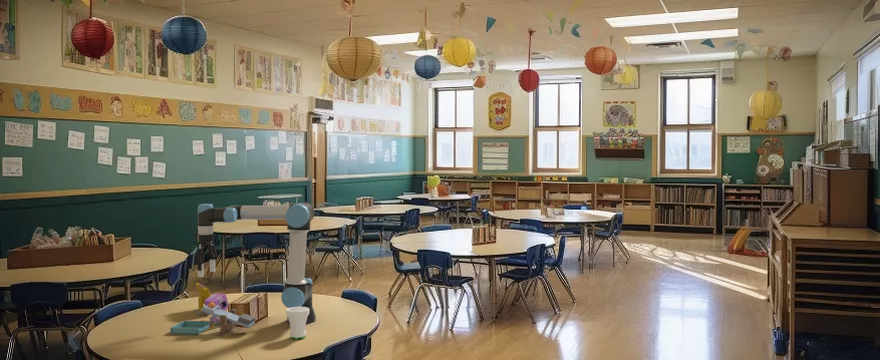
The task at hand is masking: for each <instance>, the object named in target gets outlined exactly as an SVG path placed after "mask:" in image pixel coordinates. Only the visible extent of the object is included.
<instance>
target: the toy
mask: <svg viewBox="0 0 880 360" xmlns="http://www.w3.org/2000/svg"><path fill="white" fill-rule="evenodd" d="M210 302H214V303H215V305H217V306H220V309H221V310H224V311H227V310H228V309H229V308H228V305H229V301H228V298H227V294H226V293H212V294H210V297H209V298H207V299H206V300H204V303H205V304H204V306H207V305H208V304H209V303H210ZM229 306H230V305H229ZM209 321H210V323H213V322H215V323H216V322H217V324H219V323H220V318H219V317H217V316H214V315H211V316H210V317H209Z"/></svg>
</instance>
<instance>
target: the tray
mask: <svg viewBox="0 0 880 360" xmlns="http://www.w3.org/2000/svg"><path fill="white" fill-rule="evenodd" d="M210 324H211V322H210V320H209V321H208V320H207V321H205V320H202V321H201V320H182V321H180V322H179V323H176V324H175V325H173V326H171V327H170V328H169V329H170V335H188V336H189V335H190V336H191V335H192V336H198V335H200V334H202V333H203V332H205V331H207V330H209V327H210V326H211V325H210ZM210 328H211V327H210Z"/></svg>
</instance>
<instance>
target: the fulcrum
mask: <svg viewBox="0 0 880 360" xmlns="http://www.w3.org/2000/svg"><path fill="white" fill-rule="evenodd" d="M229 313H234V314H235V315H237V309H235V308H230V309H229ZM240 330H241V326H237V324H236V323H233V322H230V321H228V320H227V315H220V324H219V331H218V332H216V334H215V336H217V337H219V336H222V337H223V336H224V337H230V336H231V335H233V334H235V333H236V332H238V331H240Z"/></svg>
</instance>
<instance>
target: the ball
mask: <svg viewBox="0 0 880 360" xmlns="http://www.w3.org/2000/svg"><path fill="white" fill-rule="evenodd" d="M208 307H209V308H211V309H213V308H215V303H214V302H210V303H209V304H208Z"/></svg>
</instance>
